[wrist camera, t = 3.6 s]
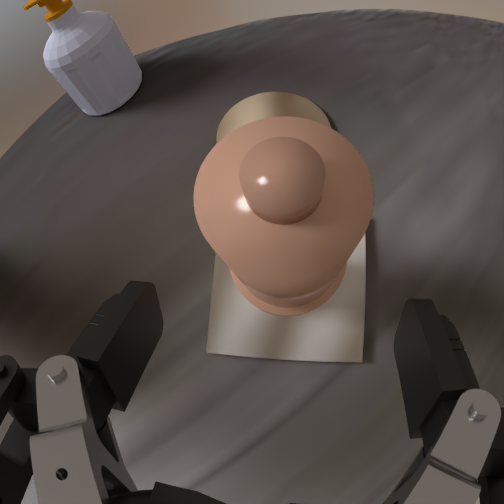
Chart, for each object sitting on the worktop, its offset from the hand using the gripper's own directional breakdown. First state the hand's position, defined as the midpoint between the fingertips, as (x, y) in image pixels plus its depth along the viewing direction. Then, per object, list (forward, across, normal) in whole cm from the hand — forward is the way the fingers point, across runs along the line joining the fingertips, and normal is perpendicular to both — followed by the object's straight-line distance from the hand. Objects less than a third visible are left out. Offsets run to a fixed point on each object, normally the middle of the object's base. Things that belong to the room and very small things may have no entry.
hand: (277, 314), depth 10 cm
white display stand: (+14, 0, +9) cm, 16 cm away
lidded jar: (+8, 0, +3) cm, 9 cm away
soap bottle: (+30, +23, -7) cm, 39 cm away
